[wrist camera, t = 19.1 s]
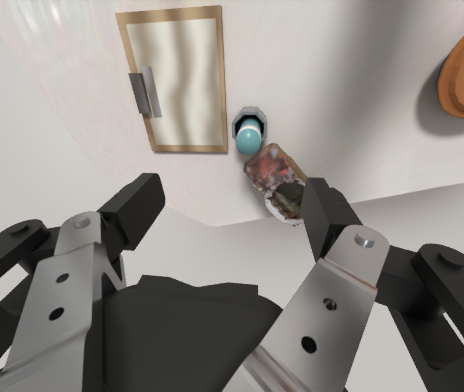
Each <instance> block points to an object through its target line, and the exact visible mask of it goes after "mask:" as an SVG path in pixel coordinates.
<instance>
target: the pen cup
mask: <svg viewBox="0 0 464 392" xmlns="http://www.w3.org/2000/svg"><path fill="white" fill-rule="evenodd" d="M248 116H254V117H256V118H257V119H258V120H259V122H260V133H261V142H262V141H263V140H264V139H265V138H266V134H267V118H266V116H265V115H264V114H263V112H262V111H261V110H260V109H259V108H258V107H244V108H243V109H242V110H241V111H240V112H239V113H238V114H237V115H236V116H235V118H234V120H233V122H232V138H234V139H235V140H237V136H238V133H239V130H240V127H241V124H242V121H243V120H244V119H245V118H246V117H248Z"/></svg>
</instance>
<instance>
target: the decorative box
mask: <svg viewBox="0 0 464 392" xmlns="http://www.w3.org/2000/svg"><path fill="white" fill-rule="evenodd" d="M244 172H245V173H246V174H247V175H248V176H249V178H252V180H253V185H254V186H255V187H256V188H257V189H258V190H259V191H260V192H261V193H262V195H263V196H264V197H265V199H264V201H265V205H266V207H267V209H268V210H269V211H270V212H271V213H272V214H273V215H274V216H275V217H276V218H277V219H278V220H280V221H281V222H283V223H286V224H291V225H293V226H296V225H298V224H300V223H304V221H303V218H302V214H301V202H302V195H303V192H304V188H305V183H306V179H307V177H306V176H305V174H304V173H303V172H302V171H301V169H300V168H299V167H298V165H297V164H296V163H295V161H294V160H293V159H292V158H291V157H290V156H288V155H287V154H286V153H285V152H284V151H283V150H282V149H281V148H280V147H279V146H278V145H277V144H275V143H271V144H269V145H268V146H267V147H266V148H264V149H263V150H262V151H260V152H259V153H258V154H256V155H255V156H254V157H253V158H251V159H250V160H249V161H247V162H246V163H245V164H244Z"/></svg>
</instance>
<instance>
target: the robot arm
mask: <svg viewBox="0 0 464 392" xmlns="http://www.w3.org/2000/svg"><path fill="white" fill-rule="evenodd" d="M164 205H165V195H164V191H163V187H162V184H161V180H160V177H159V175H158V174H157V173H142V174H141V175H140V176H139V177H138V178H137V179H135V180H134V181H133V182H132V183H130V184H128V185H126V186H125V187H123V188H122V189H121V190H120V191H119V193H117V194H115V195H114V197H112V198H111V199H110V200H109V201H108V202H106V203H105V204H104V205H103V206H102V207H101V208H100V209H98V210H97V211H96V212H94V211H88V212H83V213H80V214H77V215H75V216H73V217H71V218H69V219H68V220H66V221H65V222H64V223H63V224H62V226H61V227H54V228H49V229H47V228H46V226H45V225H44V224H43V222H42V221H41V220H38V219H33V220H27V221H23V222H20V223H17V224H15V225H13V226H11V227H9V228H7V229H5V230H4V231H2V232H1V233H0V277H1V276H3V275H4V274H5V273H6V272H7V271H9V270H10V269H11V268H12V267H13V266H15V265H16V264H17V263H18V264H19V265H20V266H21V267H22V268H23V269H24V270H25V271H26V272H27V273H28V274H29V275H28V276H27V277H26V278H25V279H23V280H22V281H21V282H20V283H19V284H18V285H17V286H16V287H15V288H14V289H13V290H12V291H11V292H10V293H9V294H8V295H7V296H6V297H5V298H4V299H3V300H1V301H0V358H1V357H2V355H3V354H4V353H5V352H6V351H7V349H8V348H9V347H10V346H11V345H12V346H11V349H10V352H9V356H8V358H7V362H6V364H5V367H3V368H2V369H0V392H348V391H347V389H346V388H345V384H346V381H347V378H348V375H349V372H350V369H351V366H352V363H353V361H354V358H355V355H356V352H357V349H358V347H359V343H360V341H361V338H362V335H363V332H364V329H365V327H366V324H367V321H368V318H369V315H370V312H371V309H372V306H373V303H374V302H377V303H379V304H382V305H385V306H387V307H388V309H389V311H390V313H391V315H392V317H393V319H394V322H395V324H396V326H397V328H398V330H399V332H400V334H401V336H402V338H403V340H404V342H405V345H406V347H407V349H408V351H409V353H410V355H411V357H412V359H413V361H414V364H415V366H416V368H417V370H418V372H419V374H420V376H421V378H422V380H423V382H424V384H425V387H426V389H427V391H428V392H464V345H463V343H462V342H461V340H460V339H459V338H458V336H457V335H456V333H455V332H454V330H453V329H452V327H451V326H450V324H449V323H448V321H447V320H446V319H445V317H444V316H443V313H445V312H446V313H447V314H448V316H449V317H450V319H451V320H452V321H453V323H454V324H455V326H456V327H457V329H458V330H459V331H460V333H461V334H462V336H463V338H464V254H463V253H461V252H459V251H457V250H455V249H452V248H450V247H447V246H443V245H439V244H425V245H423V246H422V247H421V248H420V249H419V251H418V252H413V251H409V250H405V249H402V248H398V247H394V246H391V245H389V242H388V241H387V239H386V238H385V237H384V236H383V235H382V234H380V233H379V232H377V231H376V230H374V229H371V228H369V227H366V226H363V224H362V223H361V221H360V220H359V218H358V217H357V215H356V214H355V212H354V211H353V209H352V208H351V207H350V205H349V203H348V202H347V200H346V199H345V197H344V195H343V194H342V193H341V192H339V191H338V190H336V189H335V188H329V186H328V184H327V183H326V181H325V179H324V178H307V179H306V183H305V188H304V192H303V197H302V202H301V214H302V218H303V221H304V224H305V228H306V231H307V235H308V238H309V242H310V245H311V249H312V252H313V255H314V259H315V262H316V264H315V266H314V267H313V269H312V270H311V271H310V273H309V274H308V276H307V277H306V279H305V280H304V281H303V283H302V284H301V286H300V287H299V289H298V290H297V292H296V293H295V294H294V296H293V297H292V299H291V300H290V301H289V303H288V304H287V306H286V307H285V309H284V310H283V309H282V308H281V307H280V306H278V305H277V304H275V303H274V302H272V301H271V300H269V299H267V298H265V297H262V296H260V295H258V285H250V284H239V283H221V284H215V285H208V286H202V287H194V286H191V285H189V284H186V283H183V282H181V281H178V280H176V279H172V278H170V277H162V276H150V275H142V277H141V279H140V280H139V282H138V284H136V285H132V286H129V287H127V286H126V279H125V272H124V265H123V258H122V255H121V254H120V253H121V252H122V251H123V250H131V251H134V250H135V249H136V247H137V246H138V244H139V243H140V241H141V240H142V238H143V237H144V235H145V234H146V232H147V231H148V230H149V228H150V227H151V225H152V224H153V222H154V221H155V219H156V218H157V216H158V215H159V213H160V212H161V211H162V209H163V208H164Z"/></svg>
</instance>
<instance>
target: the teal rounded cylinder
mask: <svg viewBox="0 0 464 392" xmlns="http://www.w3.org/2000/svg"><path fill="white" fill-rule="evenodd" d="M260 145H261V133H260V122H259V120H258V119H257V118H256V117H254V116H248V117H246V118H245V119H244V120H243V121H242V124H241V127H240V130H239V133H238V136H237V140H236V146H237V148H238V150H239V151H240V152H241V153H243V154H246V155H251V154H254V153H255V152H257V151H258V149H259V148H260Z"/></svg>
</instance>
